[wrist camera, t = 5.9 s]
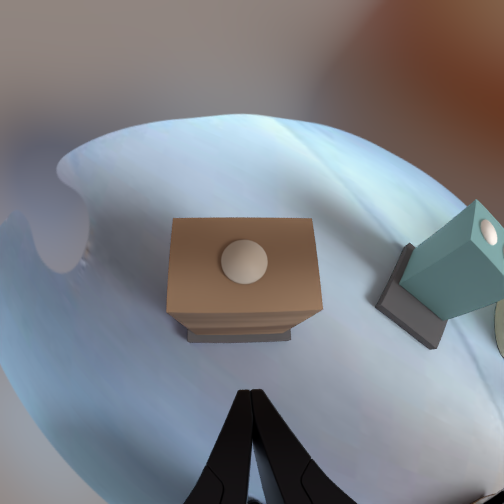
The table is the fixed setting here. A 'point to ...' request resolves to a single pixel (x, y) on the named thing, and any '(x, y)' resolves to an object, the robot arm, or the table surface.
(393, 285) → the socket
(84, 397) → the table surface
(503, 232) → the teal block
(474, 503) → the tin
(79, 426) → the table surface
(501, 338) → the can
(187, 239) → the brown box
